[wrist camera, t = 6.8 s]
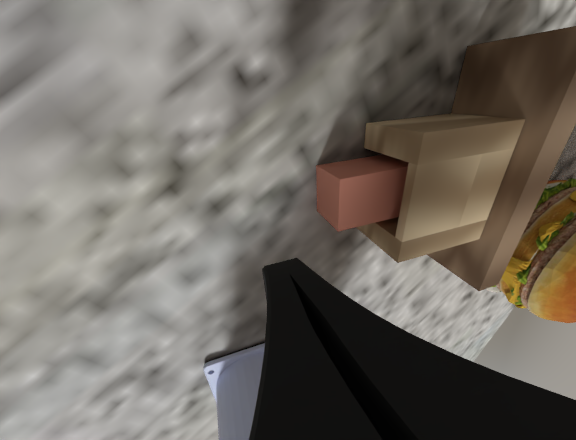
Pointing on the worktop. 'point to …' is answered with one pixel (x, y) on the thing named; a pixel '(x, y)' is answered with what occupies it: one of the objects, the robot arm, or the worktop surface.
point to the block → (441, 179)
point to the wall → (530, 145)
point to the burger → (546, 257)
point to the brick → (360, 190)
